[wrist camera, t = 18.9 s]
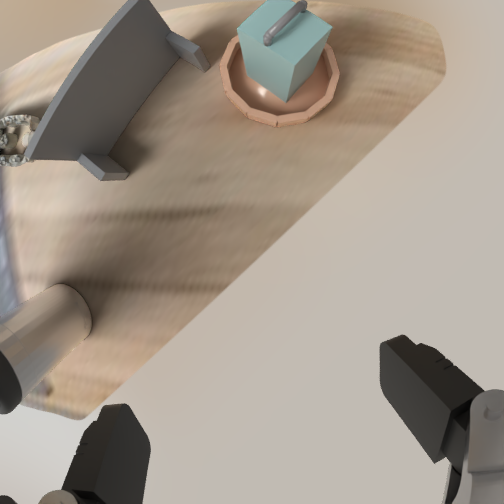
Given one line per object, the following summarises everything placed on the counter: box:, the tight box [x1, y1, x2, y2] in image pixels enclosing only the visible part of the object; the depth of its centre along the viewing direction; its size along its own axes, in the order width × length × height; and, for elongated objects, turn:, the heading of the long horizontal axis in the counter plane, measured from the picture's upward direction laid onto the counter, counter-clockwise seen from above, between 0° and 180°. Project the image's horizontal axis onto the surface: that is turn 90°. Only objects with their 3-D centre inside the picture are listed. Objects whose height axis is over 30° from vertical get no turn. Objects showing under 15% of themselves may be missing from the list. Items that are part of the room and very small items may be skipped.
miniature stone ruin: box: [0, 115, 40, 167], centre depth 32 cm, size 11×8×4 cm
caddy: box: [237, 0, 332, 103], centre depth 24 cm, size 6×5×14 cm
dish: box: [219, 35, 340, 127], centre depth 29 cm, size 13×13×2 cm
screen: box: [24, 0, 210, 181], centre depth 26 cm, size 5×17×14 cm, turn 142°
